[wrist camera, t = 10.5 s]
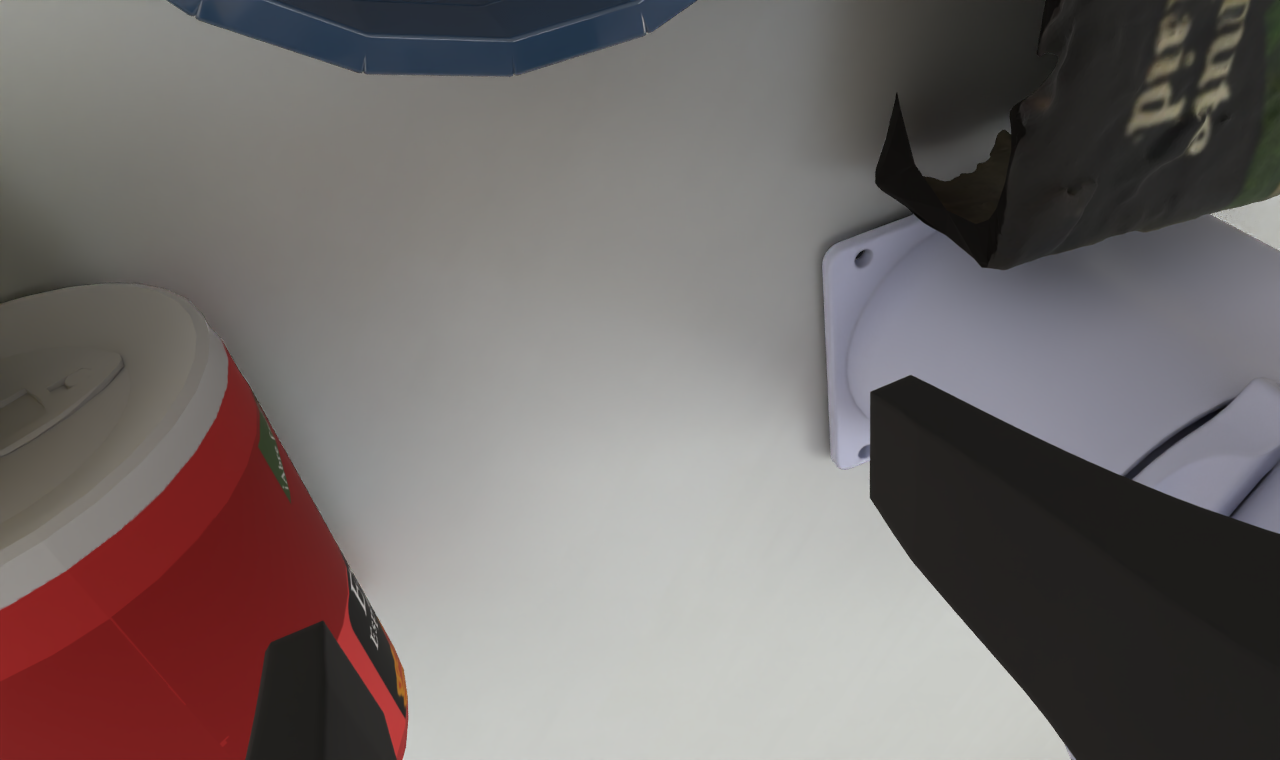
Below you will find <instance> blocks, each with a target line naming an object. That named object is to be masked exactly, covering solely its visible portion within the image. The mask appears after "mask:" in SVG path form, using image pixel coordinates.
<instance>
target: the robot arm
mask: <svg viewBox="0 0 1280 760" xmlns="http://www.w3.org/2000/svg"><path fill="white" fill-rule="evenodd" d="M862 250H864V253H863V254H862V255H861V257H860V258H858V259H856V260H855V258H856V256H857V255H858V253H859V252H861V251H862ZM822 271H823V294H824V316H825V338H826V361H827V383H828V406H829V428H830V450H831V459H832V461H833V462H834V464H835V465H836V466H837V467H838V468H840V469H844V470H846V469H850V468H853V467H855V466H858V465H860V464H863V463H865V462H867V461H870V499H871V500H872V502H873V503H874V505H875V506H876V508H877V509H878V511H879V513H880V514H881V516H882V517H883V519H884V520H885V522H886V523H887V525H888V526H889V528H890V530H891V531H892V533H893V534H894V536H895V537H896V538H897V540H898V541H899V543H900V544H901V546H902V547H903V549H904V550H905V551H906V553H907V554H908V556H909V557H910V559H911V560H912V561H913V563H914V564H915V565H916V566H917V567H918V569H919V570H920V571H921V572H922V573H923V575H924V576H925V577H926V578H927V579H928V580H929V582H930V583H931V584H932V585H933V586H934V587H935V589H936V590H937V591H938V592H939V593H940V594H941V596H942V597H943V598H944V599H945V600H946V601H947V603H948V604H949V605H950V606H951V607H952V608H953V610H954V611H955V612H956V613H957V614H958V615H959V616H960V618H961V619H962V620H963V621H964V622H965V623H966V624H967V626H968V627H969V628H970V629H971V630H972V631H973V633H974V634H975V635H976V636H977V637H978V638H979V639H980V641H981V642H982V643H983V644H984V645H985V646H986V647H987V649H988V650H989V651H990V652H991V653H992V654H993V655H994V657H995V658H996V659H997V660H998V661H999V662H1000V664H1001V665H1002V666H1003V667H1004V668H1005V669H1006V670H1007V672H1008V673H1009V674H1010V675H1011V676H1012V677H1013V678H1014V680H1015V681H1016V682H1017V683H1018V684H1019V685H1020V687H1021V688H1022V689H1023V690H1024V691H1025V692H1026V694H1027V695H1028V696H1029V697H1030V699H1031V700H1032V701H1033V702H1034V704H1035V705H1036V706H1037V707H1038V709H1039V710H1040V711H1041V712H1042V714H1043V715H1044V716H1045V717H1046V719H1047V720H1048V721H1049V723H1050V724H1051V725H1052V727H1053V728H1054V730H1055V731H1056V732H1057V734H1058V735H1059V737H1060V738H1061V739H1062V741H1063V742H1064V744H1065V747H1066V749H1067V751H1068V753H1069V756H1070V758H1071V760H1280V251H1279V250H1277V249H1275V248H1273V247H1271V246H1269V245H1267V244H1265V243H1263V242H1261V241H1260V240H1258V239H1256V238H1254V237H1252V236H1250V235H1248V234H1246V233H1244V232H1242V231H1241V230H1239V229H1237V228H1235V227H1233V226H1231V225H1229V224H1227V223H1225V222H1223V221H1222V220H1220V219H1218V218H1216V217H1214V216H1212V215H1210V214H1206V215H1202V216H1200V217H1199V218H1197V219H1193V220H1190V221H1186V222H1182V223H1178V224H1174V225H1170V226H1167V227H1164V228H1161V229H1159V230H1155V231H1150V232H1139V231H1133V232H1127V233H1125V234H1123V235H1116V236H1112V237H1109V238H1106V239H1105V240H1103V241H1101V242H1098V243H1096V244H1093V245H1089V246H1084V247H1080V248H1077V249H1074V250H1071V251H1066V252H1062V253H1059V254H1056V255H1048V256H1044V257H1041V258H1039V259H1036V260H1034V261H1031V262H1027V263H1024V264H1021V265H1018V266H1015V267H1013V268H1010V269H1008V270H999V269H992V268H981V266H980V265H979V264H978V263H977V262H976V261H975V259H974V258H972V257H971V256H970V255H969V254H968V253H966V252H965V251H964V250H963V249H962V248H960V247H959V246H958V245H957V244H956V243H954V242H953V241H952V240H951V239H950V238H948V237H947V236H946V235H944V234H942V233H940V232H938V231H936V230H935V229H933V228H931V227H929V226H928V225H926V224H925V223H923V222H922V221H921V220H920V219H918V218H917V217H916V216H915V215H914V214H913V215H911V216H908V217H905V218H902V219H900V220H897V221H894V222H892V223H889V224H886V225H883V226H881V227H878V228H875V229H873V230H870V231H867V232H864V233H862V234H859V235H856V236H854V237H851V238H848V239H845V240H843V241H840V242H838V243H836V244H834V245H833V246H832V247H831V248H830V249H829V250H828V251H827V252H826V254H825V256H824V258H823V263H822ZM245 760H397V758H396V754H395V751H394V747H393V744H392V740H391V737H390V733H389V730H388V726H387V722H386V719H385V715H384V712H383V711H382V709H381V708H380V706H379V705H378V703H377V702H376V700H375V699H374V697H373V696H372V694H371V693H370V691H369V689H368V688H367V686H366V685H365V683H364V682H363V680H362V679H361V677H360V676H359V674H358V673H357V671H356V670H355V668H354V667H353V665H352V663H351V662H350V660H349V659H348V657H347V656H346V654H345V653H344V651H343V650H342V648H341V647H340V645H339V644H338V642H337V641H336V639H335V638H334V636H333V634H332V633H331V631H330V630H329V628H328V627H327V625H326V624H325V622H324V621H320V622H318V623H316V624H313V625H311V626H308V627H306V628H304V629H301V630H299V631H296V632H294V633H292V634H289V635H287V636H284V637H282V638H280V639H277V640H275V641H272V642H271V643H270V644H269V646H268V648H267V650H266V651H265V656H264V662H263V669H262V675H261V681H260V687H259V693H258V699H257V704H256V710H255V715H254V720H253V725H252V730H251V735H250V740H249V744H248V749H247V754H246V758H245Z"/></svg>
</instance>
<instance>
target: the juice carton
mask: <svg viewBox="0 0 1280 760" xmlns="http://www.w3.org/2000/svg"><path fill="white" fill-rule="evenodd" d="M1045 53H1052V54H1055V55H1057V56H1058V62H1057V65H1056V66H1055V68H1054V70H1053V71H1052V72H1051V74H1050V75H1049V77H1048V78H1047V79H1046V80H1045V81H1044V83H1043V84H1042V85H1041V86H1040V87H1039V88H1038V89H1037V90H1036V91H1035V92H1034V93H1033V94H1031V95H1030V96H1028V97H1027V98H1025V99H1024V100H1022V101H1020V102H1019V103H1017V104H1016V105H1014V106H1013V108H1012V109H1011V110H1010V122H1011V134H1010V133H1009V132H1007V131H1006V130H1002V131H1001V132H999V133H998V135H997V138H996V142H995V145H994V147H993V149H992V151H991V153H990V158H989V159H988V160H987V161H986V162H984V163H979V164H977V169H976V171H975V172H973V173H963V174H960V176H958V177H956V178H954V179H953V180H951V181H946V182H945V181H940V180H938V179H935V178H931V177H925V176H922V174H921V173H920V171H919V170H918V168H917V167H916V165H915V164H914V160H913V156H912V152H911V148H910V144H909V140H908V137H907V133H906V129H905V125H904V121H903V117H902V113H901V110H900V105H899V100H898V94H896V98H895V102H894V106H893V111H892V115H891V119H890V123H889V127H888V132H887V136H886V139H885V142H884V146H883V149H882V152H881V155H880V158H879V161H878V164H877V167H876V171H875V177H876V179H875V183H876V184H877V186H878V187H879V188H880V189H881V190H882V191H883V192H885V193H886V194H888V195H890V196H891V197H893V198H894V199H896V200H897V201H899V202H900V203H902V204H903V205H905V206H906V207H907V208H908V209H909V210H911V211H912V212H913V214H914V215H915V216H916V217H917V218H918V219H920V220H921V221H922V222H923V223H925V224H926V225H928V226H929V227H931V228H933V229H935V230H936V231H938V232H940V233H942V234H944V235H946V236H947V237H948V238H950V239H951V240H952V241H953V242H954V243H956V244H957V245H958V246H959V247H960V248H962V249H963V250H964V251H965V252H966V253H968V254H969V255H970V256H971V257H972V258H974V259H975V261H976V262H977V263H978V264H979V265H980V266H981V268H992V269H999V270H1008V269H1010V268H1013V267H1015V266H1018V265H1021V264H1024V263H1027V262H1031V261H1034V260H1036V259H1039V258H1041V257H1044V256H1048V255H1056V254H1059V253H1062V252H1066V251H1071V250H1074V249H1077V248H1080V247H1084V246H1089V245H1093V244H1096V243H1098V242H1101V241H1103V240H1105V239H1106V238H1109V237H1112V236H1116V235H1123V234H1125V233H1127V232H1133V231H1139V232H1150V231H1155V230H1159V229H1161V228H1164V227H1167V226H1170V225H1174V224H1178V223H1182V222H1186V221H1190V220H1193V219H1197V218H1199V217H1200V216H1202V215H1206V214H1211V213H1215V212H1218V211H1221V210H1226V209H1231V208H1236V207H1240V206H1244V205H1248V204H1250V203H1254V202H1260V201H1264V200H1267V199H1270V198H1272V197H1274V196H1277V195H1279V194H1280V0H1046V2H1045V8H1044V13H1043V19H1042V25H1041V31H1040V37H1039V43H1038V49H1037V55H1038V56H1039V57H1041V56H1042V55H1043V54H1045Z"/></svg>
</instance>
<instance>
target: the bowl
mask: <svg viewBox="0 0 1280 760" xmlns="http://www.w3.org/2000/svg"><path fill="white" fill-rule="evenodd" d="M167 1H168V2H170V3H171V4H173V5H174V6H176V7H177V8H179V9H180V10H182V11H183V12H185V13H186V14H188V15H190V16H195V17H196V19H198V20H199V21H202V22H205V23H208V24H211V25H214V26H217V27H220V28H223V29H226V30H229V31H232V32H235V33H238V34H241V35H244V36H247V37H250V38H253V39H257V40H260V41H263V42H266V43H269V44H272V45H275V46H278V47H281V48H284V49H287V50H290V51H293V52H296V53H299V54H302V55H305V56H308V57H311V58H314V59H317V60H320V61H323V62H326V63H329V64H332V65H335V66H338V67H342V68H345V69H348V70H351V71H354V72H357V73H362V72H363V73H365V74H369V75H426V76H483V77H511V76H513V74H514V75H521V74H524V73H527V72H530V71H534V70H537V69H540V68H543V67H546V66H550V65H553V64H556V63H559V62H562V61H566V60H569V59H572V58H575V57H579V56H582V55H585V54H588V53H591V52H595V51H598V50H601V49H604V48H608V47H611V46H614V45H617V44H620V43H624V42H627V41H630V40H633V39H637V38H640V37H643V36H645V35H646V32H647V33H651V32H653V31H654V30H656V29H657V28H658V27H660V26H661V25H663V24H664V23H666V22H667V21H669V20H670V19H671V18H673V17H674V16H676V15H677V14H679V13H680V12H681V11H683V10H684V9H686V8H687V7H689V6H690V5H691V4H693V3H694V2H696V1H697V0H167Z"/></svg>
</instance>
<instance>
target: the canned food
mask: <svg viewBox="0 0 1280 760" xmlns="http://www.w3.org/2000/svg"><path fill="white" fill-rule="evenodd" d="M320 621H324V622H325V624H326V625H327V627H328V628H329V630H330V631H331V633H332V634H333V636H334V638H335V639H336V641H337V642H338V644H339V645H340V647H341V648H342V650H343V651H344V653H345V654H346V656H347V657H348V659H349V660H350V662H351V663H352V665H353V667H354V668H355V670H356V671H357V673H358V674H359V676H360V677H361V679H362V680H363V682H364V683H365V685H366V686H367V688H368V689H369V691H370V693H371V694H372V696H373V697H374V699H375V700H376V702H377V703H378V705H379V706H380V708H381V709H382V711H383V712H384V715H385V719H386V722H387V726H388V730H389V733H390V737H391V740H392V744H393V747H394V751H395V754H396V758H397V760H402V759H403V755H404V752H405V748H406V740H407V728H408V696H407V689H406V682H405V675H404V669H403V667H402V665H401V662H400V660H399V658H398V655H397V653H396V651H395V648H394V646H393V644H392V643H391V641H390V639H389V637H388V635H387V634H386V632H385V630H384V628H383V626H382V625H381V623H380V621H379V619H378V617H377V616H376V614H375V612H374V610H373V608H372V607H371V605H370V603H369V601H368V599H367V597H366V596H365V594H364V592H363V590H362V588H361V587H360V585H359V583H358V581H357V579H356V578H355V576H354V574H353V572H352V570H351V569H350V567H349V565H348V563H347V561H346V560H345V558H344V556H343V554H342V552H341V551H340V549H339V547H338V545H337V543H336V542H335V540H334V538H333V536H332V534H331V533H330V531H329V529H328V527H327V525H326V524H325V522H324V520H323V518H322V516H321V515H320V513H319V511H318V509H317V507H316V505H315V504H314V502H313V500H312V498H311V496H310V495H309V493H308V491H307V489H306V487H305V486H304V484H303V482H302V480H301V478H300V477H299V475H298V473H297V471H296V469H295V468H294V466H293V464H292V462H291V460H290V459H289V457H288V455H287V453H286V451H285V450H284V448H283V446H282V444H281V442H280V441H279V439H278V437H277V435H276V433H275V432H274V430H273V428H272V426H271V424H270V423H269V421H268V419H267V417H266V415H265V413H264V412H263V410H262V408H261V406H260V404H259V403H258V401H257V399H256V397H255V395H254V394H253V392H252V390H251V388H250V386H249V385H248V383H247V382H246V380H245V379H244V377H243V376H242V375H241V373H240V371H239V370H238V368H237V366H236V364H235V363H234V361H233V359H232V357H231V355H230V354H229V352H228V350H227V348H226V347H225V345H224V343H223V341H222V339H221V338H220V337H219V336H218V335H217V334H216V333H215V332H214V331H213V330H212V329H211V328H210V326H209V325H208V323H207V321H206V319H205V318H204V316H203V314H202V313H201V312H200V311H199V310H198V309H197V308H196V307H195V306H194V305H193V304H192V303H191V302H190V301H189V300H188V299H186V298H184V297H182V296H180V295H178V294H176V293H174V292H172V291H169V290H167V289H164V288H159V287H154V286H149V285H143V284H138V283H101V284H92V285H83V286H74V287H67V288H62V289H57V290H53V291H48V292H44V293H39V294H34V295H30V296H25V297H21V298H18V299H15V300H11V301H8V302H5V303H2V304H0V760H245V758H246V754H247V749H248V744H249V740H250V735H251V730H252V725H253V720H254V715H255V710H256V704H257V699H258V693H259V687H260V681H261V675H262V669H263V662H264V656H265V651H266V650H267V648H268V646H269V644H270V643H271V642H272V641H275V640H277V639H280V638H282V637H284V636H287V635H289V634H292V633H294V632H296V631H299V630H301V629H304V628H306V627H308V626H311V625H313V624H316V623H318V622H320Z"/></svg>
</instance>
